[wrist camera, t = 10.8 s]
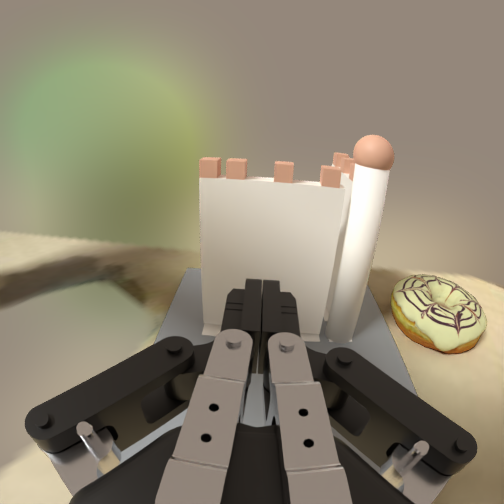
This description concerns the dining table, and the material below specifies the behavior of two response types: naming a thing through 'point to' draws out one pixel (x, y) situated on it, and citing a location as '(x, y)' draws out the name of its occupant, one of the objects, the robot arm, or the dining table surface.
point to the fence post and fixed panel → (357, 231)
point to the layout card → (194, 329)
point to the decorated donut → (437, 313)
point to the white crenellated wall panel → (268, 235)
